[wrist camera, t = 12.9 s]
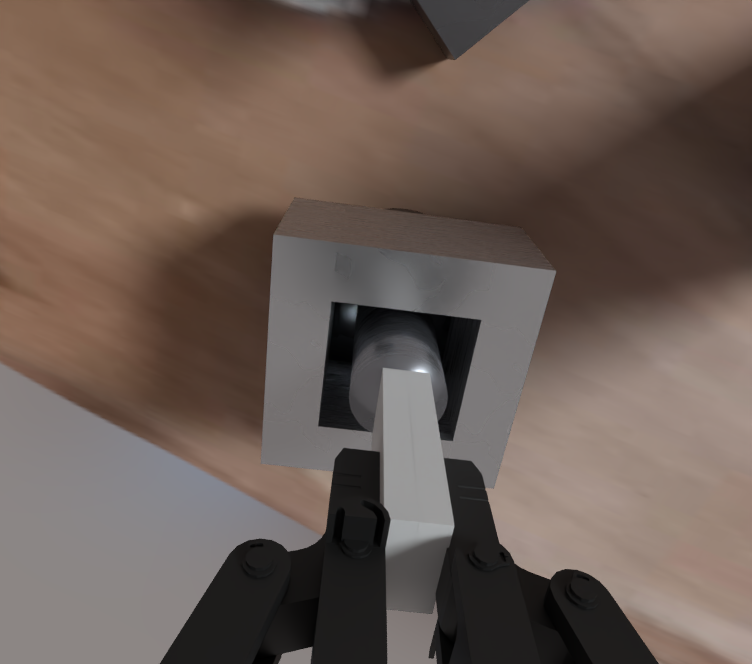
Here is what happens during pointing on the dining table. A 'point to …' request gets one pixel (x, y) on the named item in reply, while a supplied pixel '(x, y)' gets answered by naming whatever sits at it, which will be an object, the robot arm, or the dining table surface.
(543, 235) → the dining table surface
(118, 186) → the dining table surface
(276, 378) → the grey square ring block
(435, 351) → the cylinder
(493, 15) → the stand
